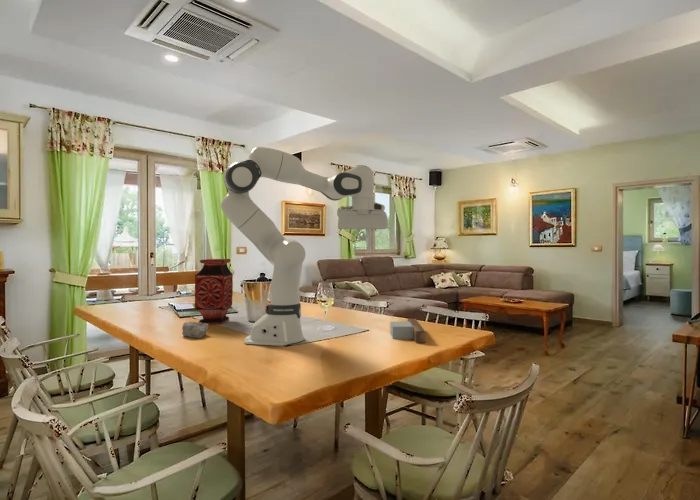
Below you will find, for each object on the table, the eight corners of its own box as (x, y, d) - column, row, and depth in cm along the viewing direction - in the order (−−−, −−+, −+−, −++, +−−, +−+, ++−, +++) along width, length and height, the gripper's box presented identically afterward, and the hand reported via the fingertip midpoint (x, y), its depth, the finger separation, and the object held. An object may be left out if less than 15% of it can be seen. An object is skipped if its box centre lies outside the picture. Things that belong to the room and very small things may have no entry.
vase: (224, 325, 185) (223, 259, 184) (194, 325, 185) (193, 259, 184) (233, 319, 199) (232, 258, 198) (205, 319, 199) (205, 258, 198)
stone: (177, 339, 159) (177, 324, 159) (187, 334, 167) (187, 320, 167) (201, 339, 158) (201, 324, 158) (210, 334, 167) (210, 320, 166)
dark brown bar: (415, 343, 150) (415, 331, 150) (407, 329, 174) (407, 318, 174) (425, 343, 150) (425, 331, 150) (415, 329, 174) (415, 318, 174)
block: (392, 339, 157) (392, 326, 157) (390, 333, 167) (390, 321, 167) (413, 339, 157) (413, 326, 157) (409, 333, 167) (409, 321, 167)
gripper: (336, 205, 160) (336, 240, 160) (388, 205, 159) (388, 240, 159) (337, 207, 166) (337, 240, 166) (387, 207, 166) (387, 240, 166)
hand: (362, 240), depth 163 cm, fingers closed
